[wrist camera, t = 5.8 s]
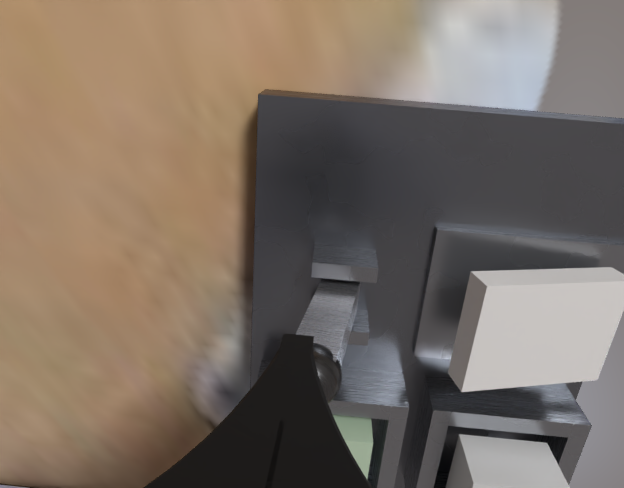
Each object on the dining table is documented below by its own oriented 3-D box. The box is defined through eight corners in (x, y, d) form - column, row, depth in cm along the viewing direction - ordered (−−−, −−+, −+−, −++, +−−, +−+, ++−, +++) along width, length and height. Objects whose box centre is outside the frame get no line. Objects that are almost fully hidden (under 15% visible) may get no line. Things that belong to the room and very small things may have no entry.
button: (360, 461, 19) (362, 506, 17) (284, 454, 19) (278, 498, 17) (369, 401, 18) (373, 443, 16) (288, 393, 18) (282, 434, 16)
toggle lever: (362, 317, 16) (332, 431, 11) (315, 308, 16) (267, 416, 12) (367, 273, 15) (339, 376, 11) (319, 266, 16) (269, 361, 11)
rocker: (577, 362, 16) (597, 380, 16) (447, 373, 15) (461, 392, 14) (611, 267, 15) (634, 280, 14) (470, 271, 14) (487, 286, 13)
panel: (515, 517, 22) (542, 592, 19) (252, 490, 23) (238, 560, 20) (650, 120, 15) (727, 140, 12) (265, 89, 15) (247, 101, 12)
